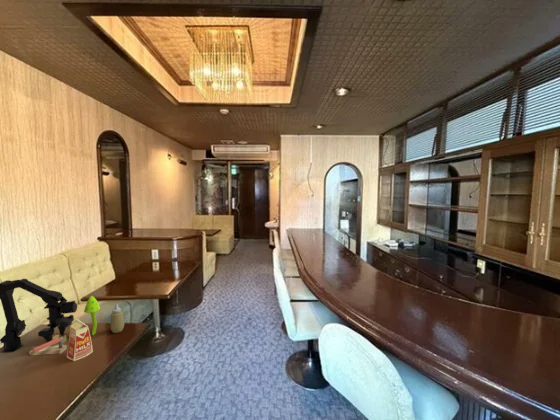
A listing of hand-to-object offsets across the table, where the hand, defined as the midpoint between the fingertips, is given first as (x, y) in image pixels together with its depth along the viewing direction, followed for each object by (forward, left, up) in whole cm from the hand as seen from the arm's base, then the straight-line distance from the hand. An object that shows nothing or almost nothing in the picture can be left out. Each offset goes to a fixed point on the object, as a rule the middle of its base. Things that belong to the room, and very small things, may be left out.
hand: (56, 339), depth 157 cm
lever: (+6, -14, +4) cm, 16 cm away
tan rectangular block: (+1, 0, -2) cm, 2 cm away
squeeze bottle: (+29, +11, -2) cm, 31 cm away
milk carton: (+22, -14, -2) cm, 26 cm away
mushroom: (+16, +8, -2) cm, 18 cm away
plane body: (+2, -9, -2) cm, 9 cm away
